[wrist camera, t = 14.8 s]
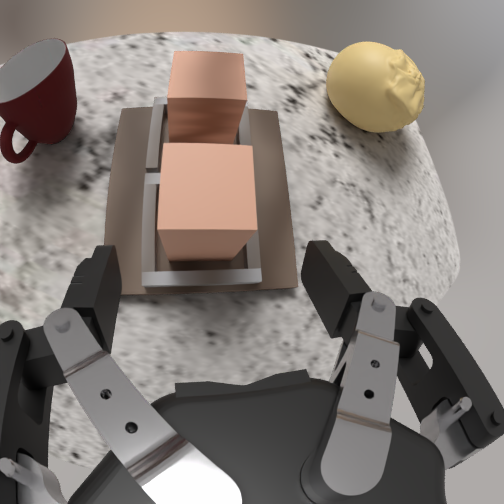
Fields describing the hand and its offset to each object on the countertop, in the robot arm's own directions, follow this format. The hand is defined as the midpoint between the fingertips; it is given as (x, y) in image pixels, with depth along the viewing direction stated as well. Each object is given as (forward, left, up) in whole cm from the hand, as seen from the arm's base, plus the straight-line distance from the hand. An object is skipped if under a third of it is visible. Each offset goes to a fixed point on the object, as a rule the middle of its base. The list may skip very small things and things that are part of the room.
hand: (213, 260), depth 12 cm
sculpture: (+20, +22, -13) cm, 32 cm away
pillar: (0, +4, -11) cm, 12 cm away
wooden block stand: (0, +9, -12) cm, 15 cm away
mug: (-16, +16, -13) cm, 26 cm away
